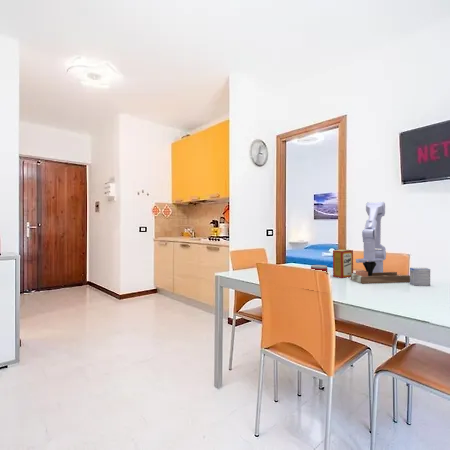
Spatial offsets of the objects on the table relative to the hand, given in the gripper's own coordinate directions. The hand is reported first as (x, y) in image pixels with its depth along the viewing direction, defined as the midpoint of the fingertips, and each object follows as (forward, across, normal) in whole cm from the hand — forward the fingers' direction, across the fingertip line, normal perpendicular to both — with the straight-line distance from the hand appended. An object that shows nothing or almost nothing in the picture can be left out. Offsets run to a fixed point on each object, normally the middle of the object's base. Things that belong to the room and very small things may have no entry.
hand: (369, 275), depth 168 cm
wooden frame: (+3, +6, 0) cm, 7 cm away
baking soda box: (+3, -8, +15) cm, 17 cm away
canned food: (+3, -34, -13) cm, 36 cm away
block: (+1, -4, 0) cm, 5 cm away
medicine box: (+3, +19, -13) cm, 24 cm away
